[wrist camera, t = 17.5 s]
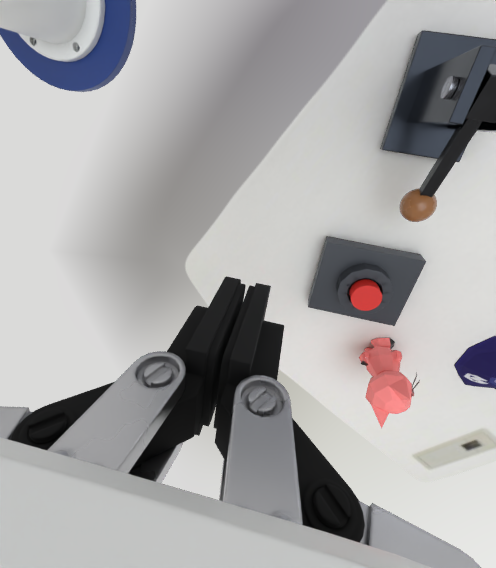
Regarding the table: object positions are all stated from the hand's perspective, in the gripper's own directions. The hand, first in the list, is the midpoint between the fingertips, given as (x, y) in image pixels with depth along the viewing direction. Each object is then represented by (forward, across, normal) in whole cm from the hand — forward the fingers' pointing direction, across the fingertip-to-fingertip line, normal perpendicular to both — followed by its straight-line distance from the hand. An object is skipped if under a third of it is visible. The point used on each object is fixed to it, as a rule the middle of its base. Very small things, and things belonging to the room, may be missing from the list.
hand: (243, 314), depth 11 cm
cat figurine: (+29, -18, +22) cm, 41 cm away
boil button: (+25, -12, +11) cm, 30 cm away
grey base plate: (+29, -12, +11) cm, 33 cm away
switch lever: (+23, -13, -6) cm, 27 cm away
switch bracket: (+29, -13, -10) cm, 33 cm away
